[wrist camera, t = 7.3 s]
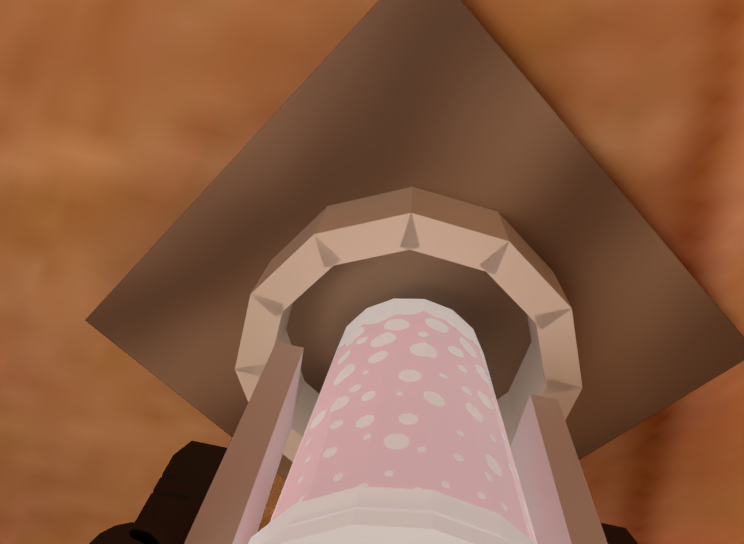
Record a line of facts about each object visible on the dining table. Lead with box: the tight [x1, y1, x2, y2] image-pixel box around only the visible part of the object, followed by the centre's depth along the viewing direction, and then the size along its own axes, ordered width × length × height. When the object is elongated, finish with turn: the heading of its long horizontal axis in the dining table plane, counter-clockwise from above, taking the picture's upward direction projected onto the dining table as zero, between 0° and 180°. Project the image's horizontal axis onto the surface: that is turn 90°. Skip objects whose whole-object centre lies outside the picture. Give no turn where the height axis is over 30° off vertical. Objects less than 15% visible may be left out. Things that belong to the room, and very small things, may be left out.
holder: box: [85, 0, 744, 480], centre depth 20 cm, size 16×16×2 cm
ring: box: [235, 187, 583, 462], centre depth 18 cm, size 10×10×2 cm
